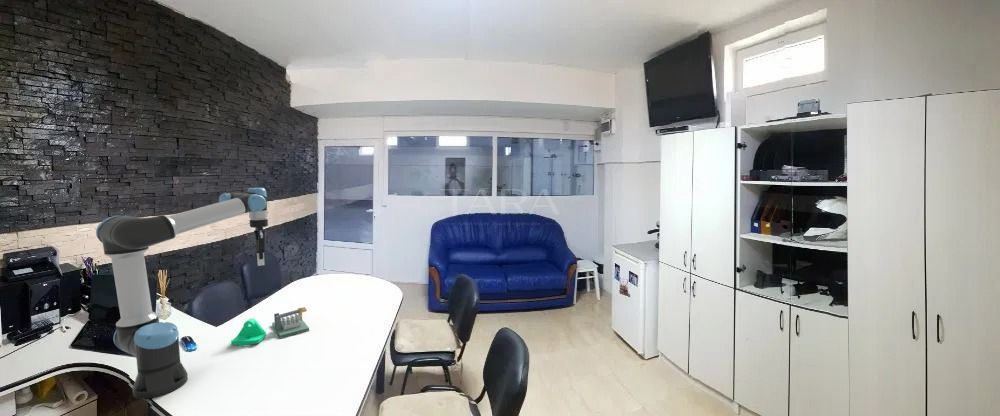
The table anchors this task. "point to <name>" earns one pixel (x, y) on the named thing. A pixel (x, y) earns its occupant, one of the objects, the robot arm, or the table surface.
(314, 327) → the table surface
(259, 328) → the camera mount
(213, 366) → the table surface
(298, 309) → the grey lever handle
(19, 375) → the table surface
